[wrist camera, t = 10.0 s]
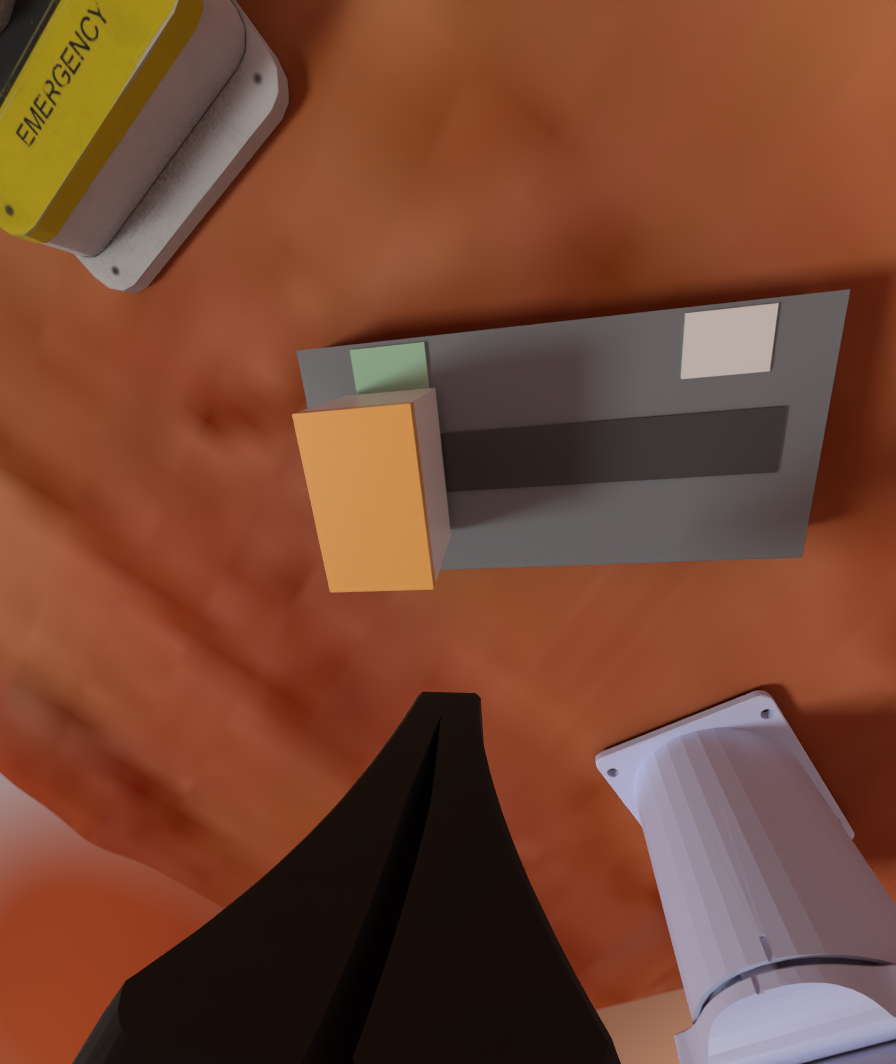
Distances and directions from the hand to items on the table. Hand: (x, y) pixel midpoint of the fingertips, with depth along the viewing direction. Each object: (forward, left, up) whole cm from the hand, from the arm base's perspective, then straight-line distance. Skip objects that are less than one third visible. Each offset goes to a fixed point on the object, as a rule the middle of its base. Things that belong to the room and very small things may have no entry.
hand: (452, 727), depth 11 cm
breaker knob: (+5, 0, -7) cm, 9 cm away
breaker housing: (+2, -5, -9) cm, 11 cm away
